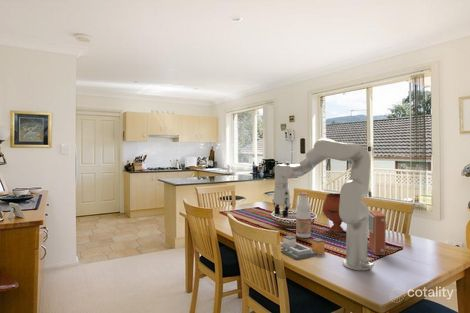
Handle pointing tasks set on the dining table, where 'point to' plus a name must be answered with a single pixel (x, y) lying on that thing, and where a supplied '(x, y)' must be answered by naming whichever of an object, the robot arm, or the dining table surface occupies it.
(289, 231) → the dining table surface
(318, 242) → the orange short cylinder
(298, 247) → the breaker panel
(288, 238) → the breaker handle
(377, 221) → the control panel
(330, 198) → the goblet
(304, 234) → the fruit juice
